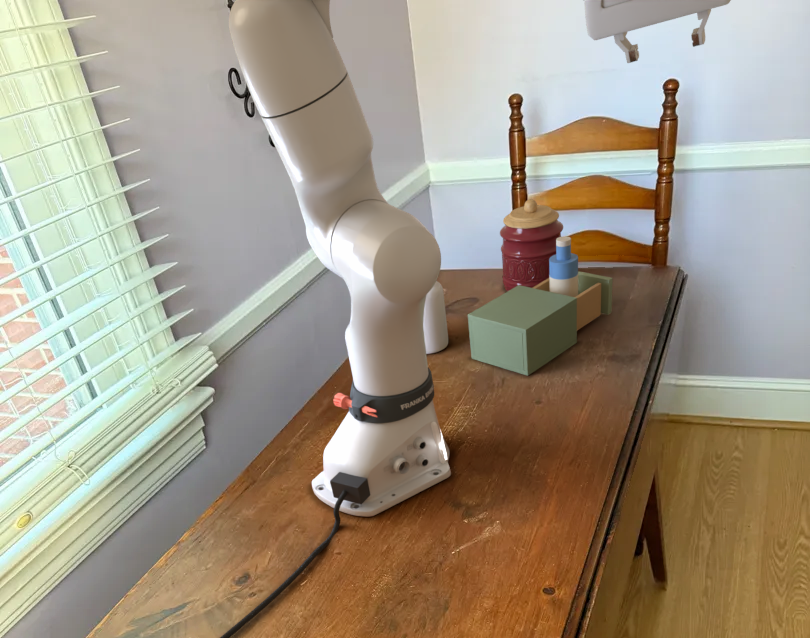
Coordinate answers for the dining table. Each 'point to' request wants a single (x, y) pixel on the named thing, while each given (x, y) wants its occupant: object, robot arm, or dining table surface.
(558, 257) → the bottle
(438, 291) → the pill bottle
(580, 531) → the dining table surface
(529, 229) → the kitchen canister
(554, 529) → the dining table surface
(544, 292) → the cabinet
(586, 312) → the drawer
